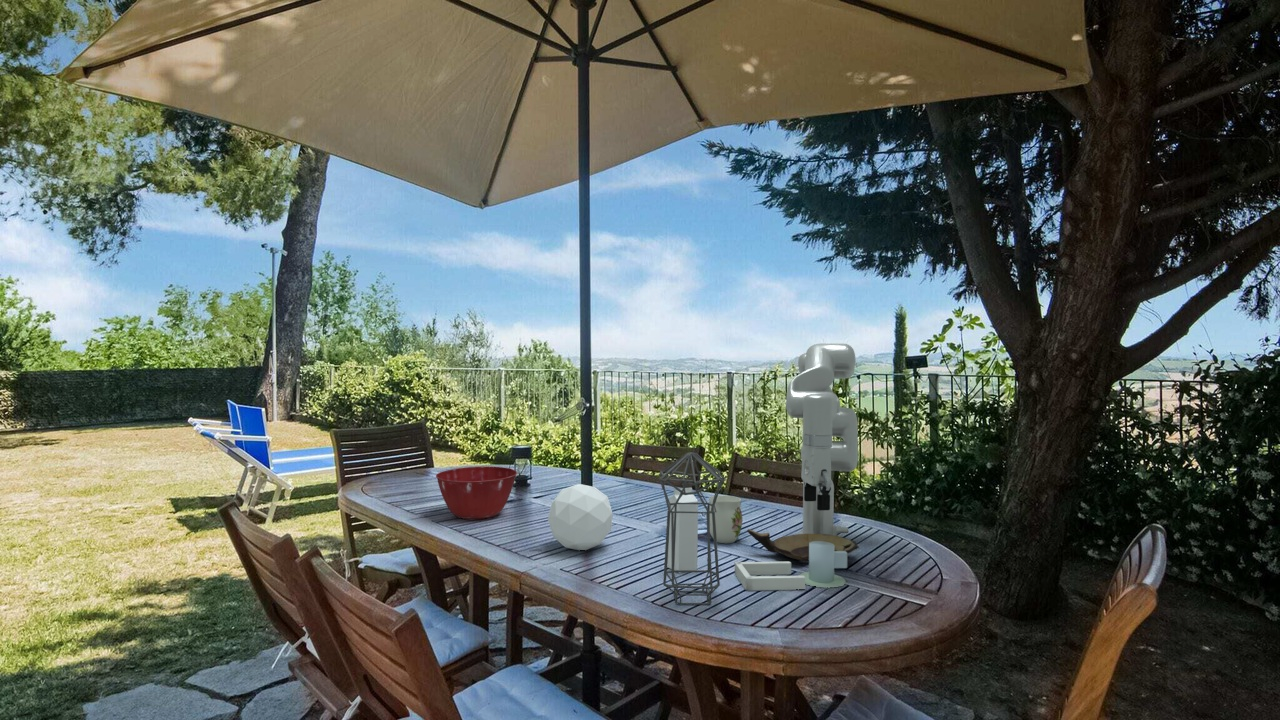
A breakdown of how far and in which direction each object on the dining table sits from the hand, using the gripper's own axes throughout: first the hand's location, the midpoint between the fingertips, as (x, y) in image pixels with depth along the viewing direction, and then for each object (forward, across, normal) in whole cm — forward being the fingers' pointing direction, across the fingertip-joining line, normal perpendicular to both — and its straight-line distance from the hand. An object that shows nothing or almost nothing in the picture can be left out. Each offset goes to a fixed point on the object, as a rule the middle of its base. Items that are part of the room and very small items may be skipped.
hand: (816, 505), depth 173 cm
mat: (+19, +3, 0) cm, 19 cm away
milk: (+19, -9, -34) cm, 40 cm away
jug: (+19, +3, +2) cm, 19 cm away
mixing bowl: (+20, -73, -100) cm, 125 cm away
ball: (+19, -30, -62) cm, 72 cm away
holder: (+19, +3, -14) cm, 23 cm away
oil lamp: (+20, -17, +3) cm, 26 cm away
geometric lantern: (+19, +12, -36) cm, 42 cm away
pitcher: (+20, -36, -16) cm, 44 cm away
